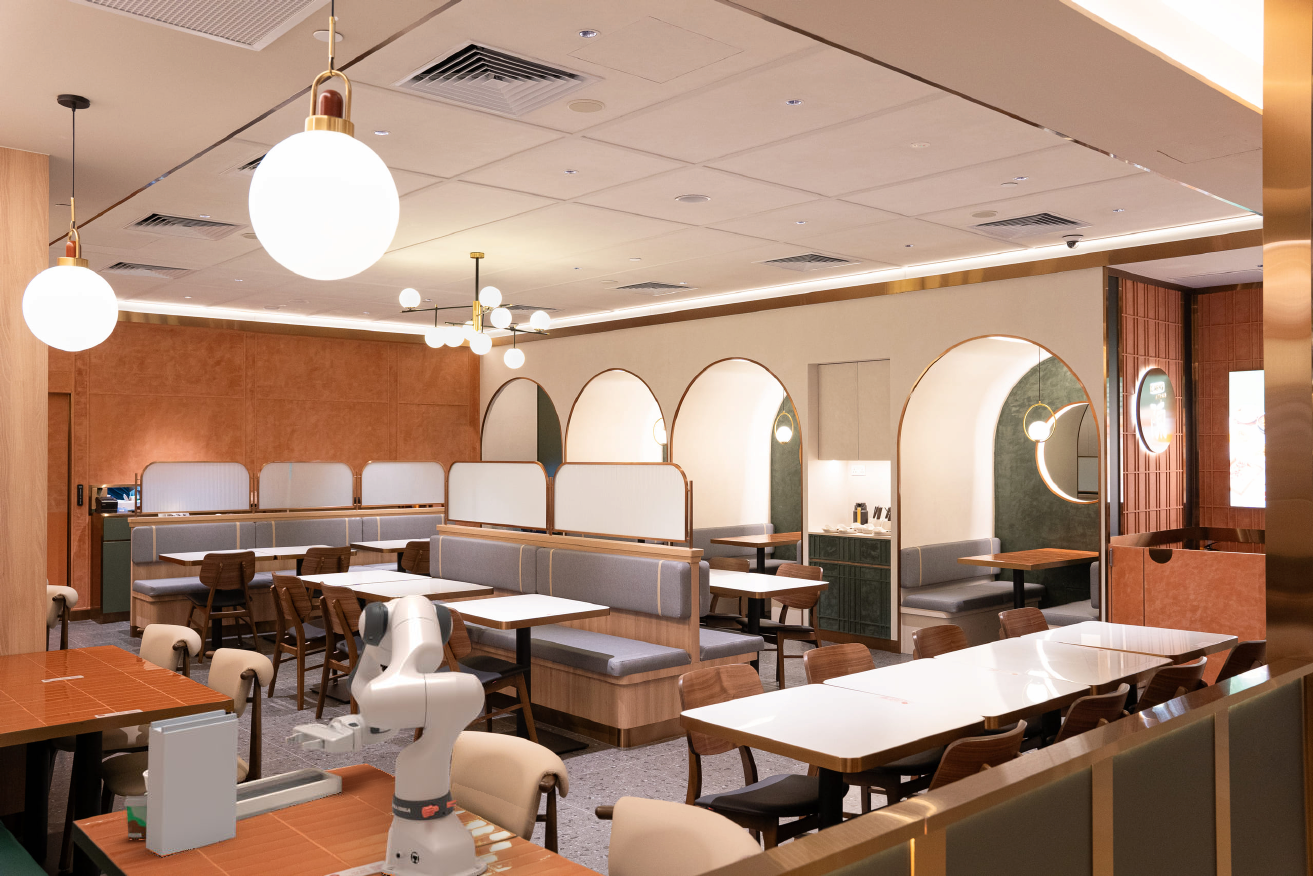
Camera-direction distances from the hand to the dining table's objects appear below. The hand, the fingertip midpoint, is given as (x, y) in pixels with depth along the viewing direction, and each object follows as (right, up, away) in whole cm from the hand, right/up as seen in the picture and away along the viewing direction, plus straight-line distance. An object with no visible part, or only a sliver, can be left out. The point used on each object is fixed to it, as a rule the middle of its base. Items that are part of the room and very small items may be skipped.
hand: (294, 744), depth 247 cm
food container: (-21, -12, -28) cm, 37 cm away
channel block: (-11, -12, -33) cm, 36 cm away
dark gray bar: (-3, -8, -4) cm, 10 cm away
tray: (-4, -13, -5) cm, 14 cm away
